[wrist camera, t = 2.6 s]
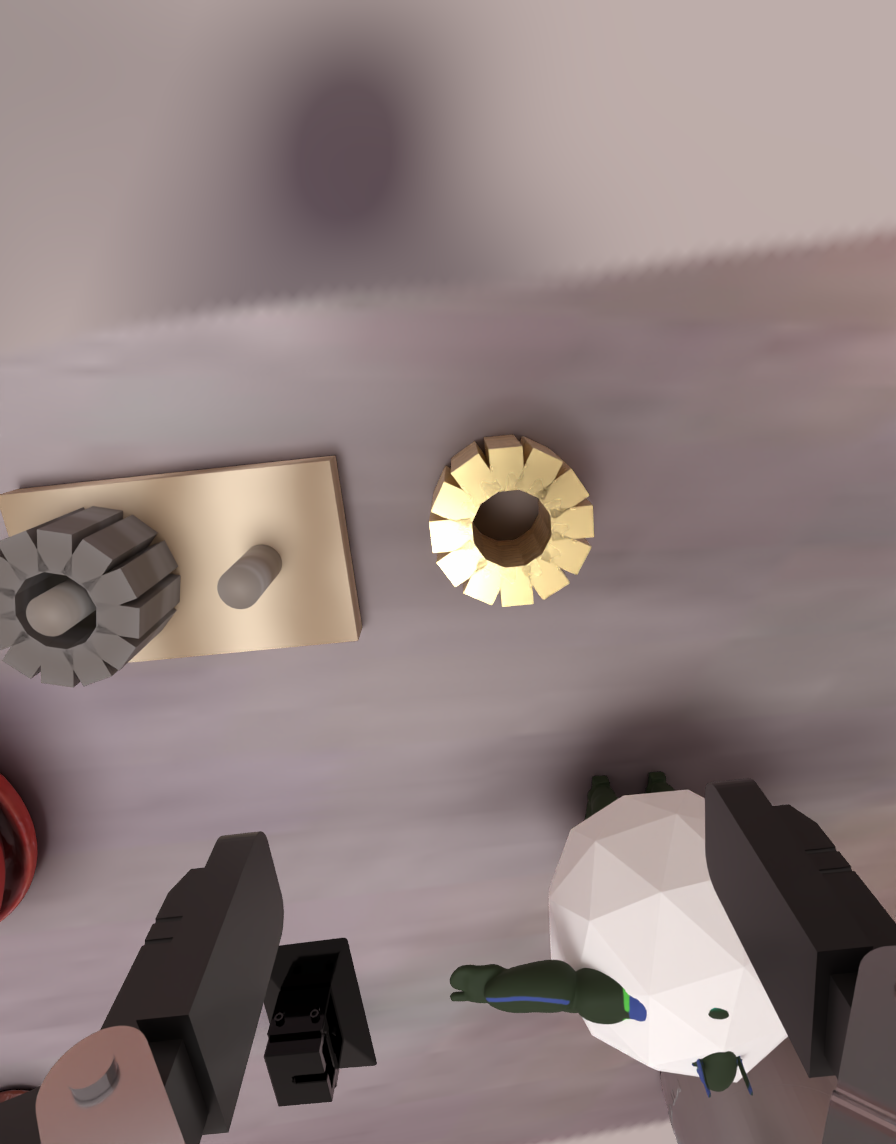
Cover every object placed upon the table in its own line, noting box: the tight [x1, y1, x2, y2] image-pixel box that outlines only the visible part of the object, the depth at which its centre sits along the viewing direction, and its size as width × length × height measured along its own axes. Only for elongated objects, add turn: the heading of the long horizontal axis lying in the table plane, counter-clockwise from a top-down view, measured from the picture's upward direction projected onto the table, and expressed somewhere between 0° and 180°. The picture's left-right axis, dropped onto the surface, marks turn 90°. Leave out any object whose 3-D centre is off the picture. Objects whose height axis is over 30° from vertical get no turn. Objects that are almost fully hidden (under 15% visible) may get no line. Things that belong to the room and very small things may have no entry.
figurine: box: [450, 772, 788, 1098], centre depth 28 cm, size 18×10×13 cm, turn 95°
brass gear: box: [429, 434, 594, 607], centre depth 28 cm, size 6×6×4 cm
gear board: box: [0, 455, 362, 687], centre depth 27 cm, size 14×8×6 cm, turn 96°
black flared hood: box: [264, 938, 377, 1106], centre depth 37 cm, size 12×7×5 cm, turn 8°
